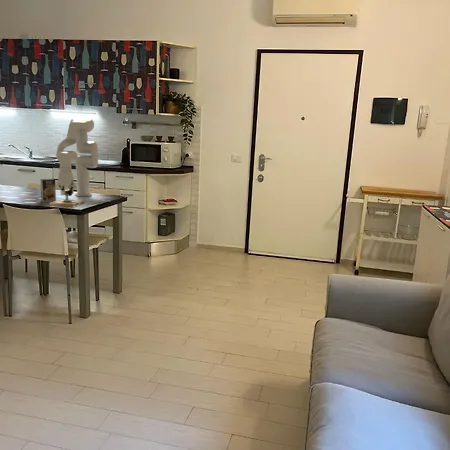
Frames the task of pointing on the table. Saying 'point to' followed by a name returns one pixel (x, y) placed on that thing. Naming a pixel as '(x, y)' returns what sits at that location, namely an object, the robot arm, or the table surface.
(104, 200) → the table surface
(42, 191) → the coffee box
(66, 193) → the t key
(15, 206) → the table surface
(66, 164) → the robot arm
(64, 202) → the key plate
